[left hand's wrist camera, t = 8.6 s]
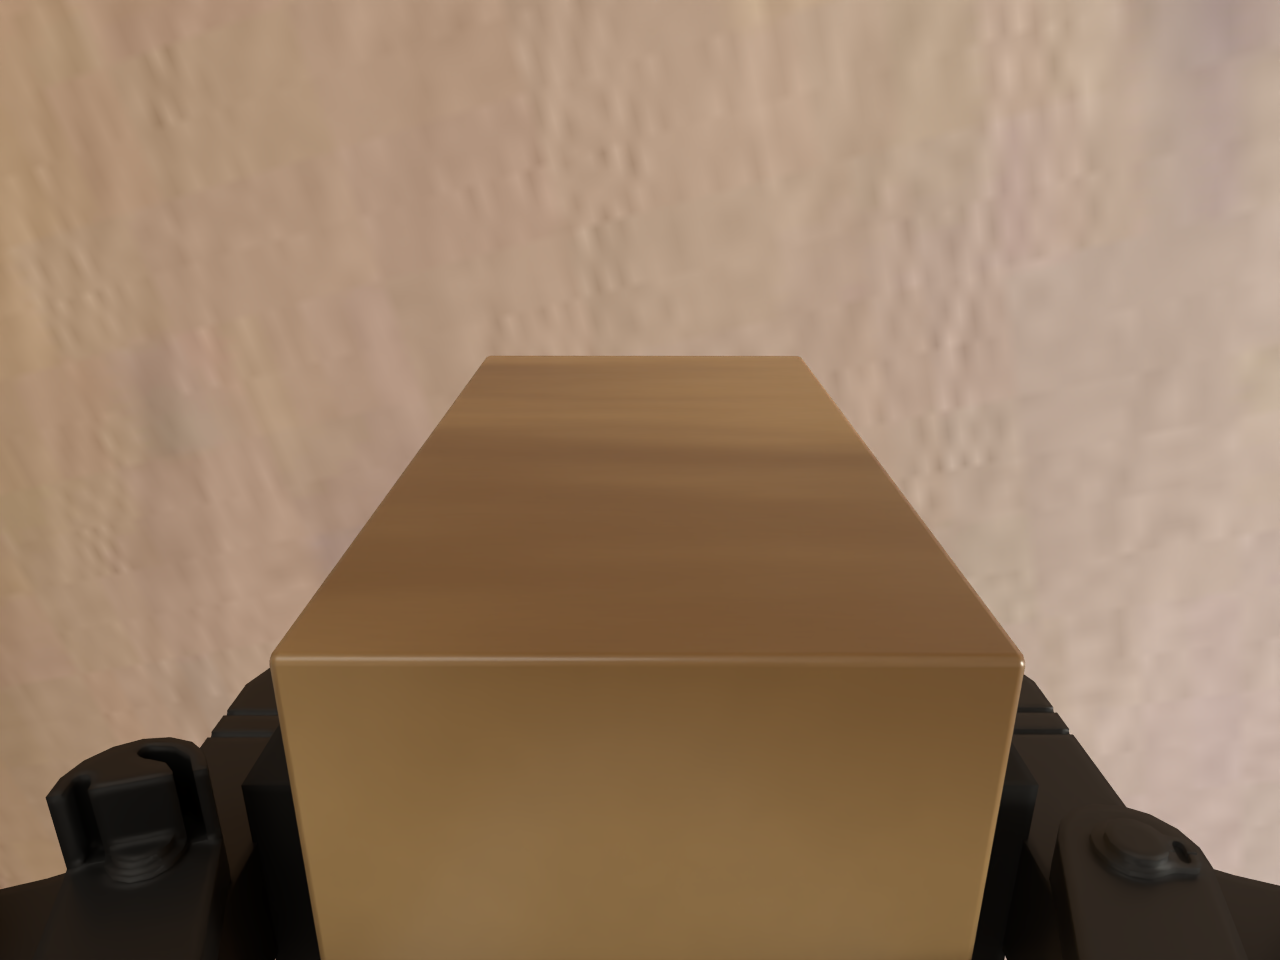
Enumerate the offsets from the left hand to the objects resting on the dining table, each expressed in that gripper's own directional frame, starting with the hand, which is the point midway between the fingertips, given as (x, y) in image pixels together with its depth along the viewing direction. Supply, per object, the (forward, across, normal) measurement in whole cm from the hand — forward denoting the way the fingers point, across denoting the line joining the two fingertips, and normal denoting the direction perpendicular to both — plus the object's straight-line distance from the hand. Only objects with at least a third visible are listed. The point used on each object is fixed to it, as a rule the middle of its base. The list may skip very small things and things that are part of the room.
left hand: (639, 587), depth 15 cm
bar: (+1, 0, -7) cm, 7 cm away
